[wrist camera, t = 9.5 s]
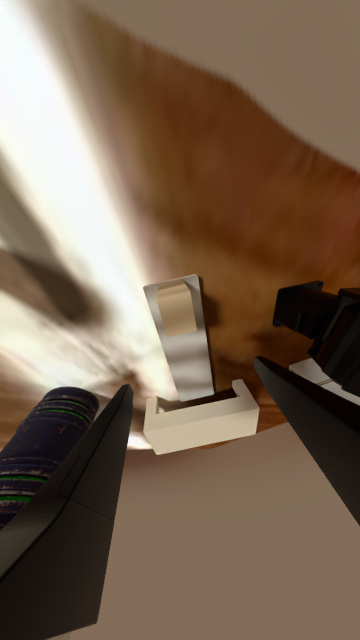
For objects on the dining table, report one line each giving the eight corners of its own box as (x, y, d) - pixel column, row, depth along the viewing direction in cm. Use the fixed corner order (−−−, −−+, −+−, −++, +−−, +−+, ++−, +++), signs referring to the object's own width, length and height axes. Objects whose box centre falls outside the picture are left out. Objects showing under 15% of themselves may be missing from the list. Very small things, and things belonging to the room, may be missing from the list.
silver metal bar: (144, 285, 18) (133, 304, 12) (195, 273, 18) (213, 286, 12) (179, 394, 29) (184, 437, 23) (211, 387, 29) (225, 428, 23)
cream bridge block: (241, 378, 28) (259, 408, 23) (240, 404, 33) (255, 434, 27) (147, 398, 28) (143, 432, 23) (158, 421, 32) (156, 455, 27)
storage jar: (108, 396, 27) (54, 537, 14) (89, 422, 30) (29, 558, 17) (52, 379, 24) (-93, 543, 10) (36, 410, 27) (-91, 567, 13)
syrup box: (287, 364, 28) (392, 461, 15) (316, 355, 28) (450, 446, 15) (287, 382, 31) (376, 477, 18) (313, 373, 30) (424, 465, 17)
